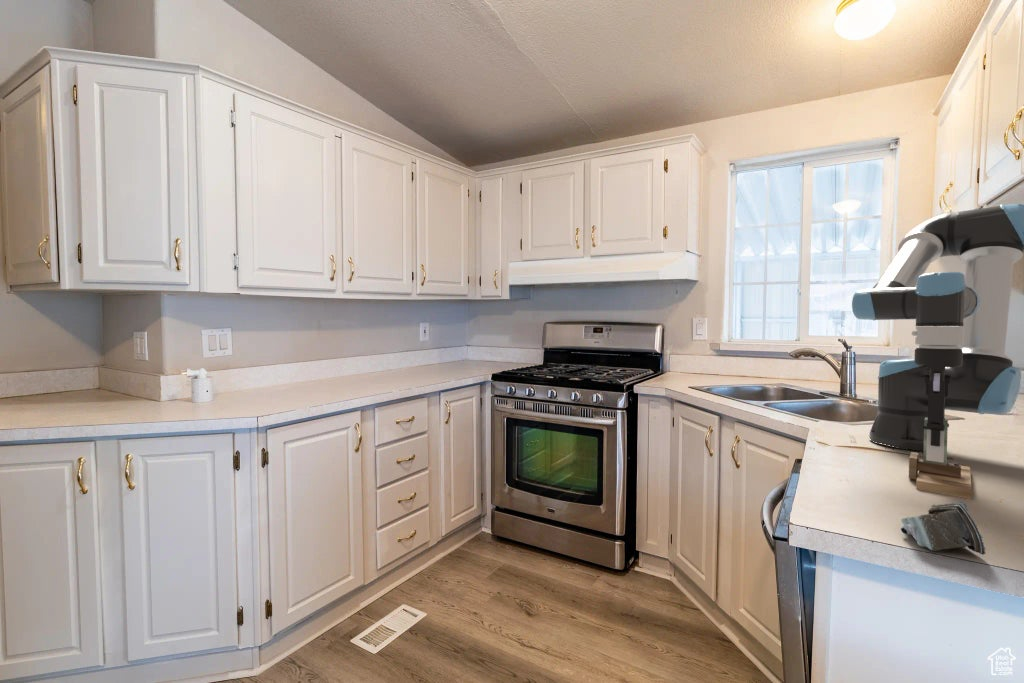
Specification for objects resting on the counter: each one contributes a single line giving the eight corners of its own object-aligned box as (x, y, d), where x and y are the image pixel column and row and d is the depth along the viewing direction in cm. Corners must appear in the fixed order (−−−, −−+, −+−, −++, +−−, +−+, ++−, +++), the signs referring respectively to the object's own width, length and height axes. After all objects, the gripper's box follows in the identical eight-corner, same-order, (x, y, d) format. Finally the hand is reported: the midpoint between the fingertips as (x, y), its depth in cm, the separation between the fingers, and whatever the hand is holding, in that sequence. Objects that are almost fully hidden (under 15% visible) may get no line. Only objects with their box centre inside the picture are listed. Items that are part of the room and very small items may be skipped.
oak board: (921, 468, 111) (921, 459, 111) (969, 475, 106) (969, 466, 106) (916, 490, 96) (916, 480, 96) (971, 500, 91) (971, 489, 91)
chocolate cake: (882, 517, 82) (895, 489, 73) (929, 509, 80) (948, 479, 72) (917, 577, 75) (936, 554, 67) (970, 569, 73) (995, 544, 65)
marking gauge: (910, 471, 106) (912, 415, 105) (960, 479, 100) (962, 420, 100) (908, 478, 101) (910, 419, 101) (960, 486, 96) (962, 424, 96)
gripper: (917, 345, 108) (914, 448, 109) (912, 348, 97) (909, 463, 97) (962, 346, 103) (959, 454, 104) (963, 349, 92) (959, 471, 92)
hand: (935, 458), depth 101 cm, fingers closed on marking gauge, 3 cm apart
